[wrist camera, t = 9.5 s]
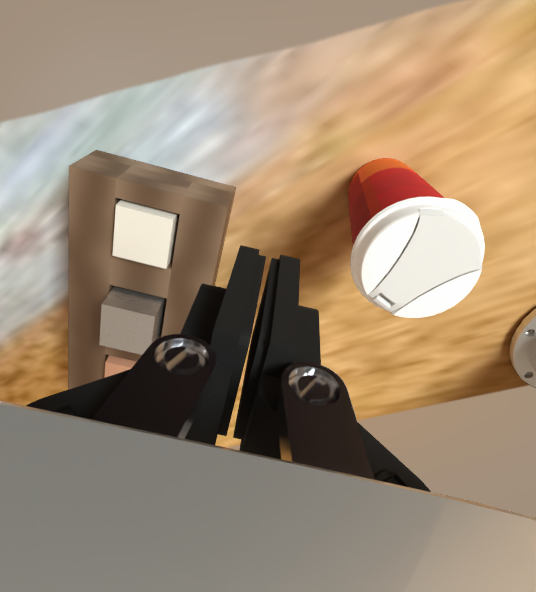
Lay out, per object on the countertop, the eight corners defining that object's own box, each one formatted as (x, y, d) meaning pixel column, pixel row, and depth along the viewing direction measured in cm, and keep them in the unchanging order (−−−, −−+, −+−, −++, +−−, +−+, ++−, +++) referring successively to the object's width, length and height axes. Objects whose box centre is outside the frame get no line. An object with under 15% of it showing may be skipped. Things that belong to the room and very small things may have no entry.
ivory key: (185, 202, 36) (173, 219, 33) (178, 247, 38) (166, 268, 35) (133, 188, 36) (115, 205, 32) (129, 235, 38) (112, 255, 35)
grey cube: (167, 291, 39) (155, 316, 35) (161, 329, 41) (149, 356, 38) (119, 279, 38) (101, 304, 35) (116, 318, 41) (99, 345, 37)
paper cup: (380, 249, 39) (415, 345, 27) (316, 197, 37) (324, 277, 25) (449, 183, 36) (525, 260, 24) (383, 121, 33) (430, 172, 22)
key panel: (236, 187, 37) (227, 207, 33) (192, 385, 49) (182, 418, 45) (96, 149, 36) (69, 166, 32) (88, 361, 49) (68, 393, 44)
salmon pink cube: (162, 346, 45) (151, 372, 41) (157, 376, 47) (146, 403, 43) (120, 336, 44) (105, 361, 41) (117, 367, 46) (103, 394, 43)
